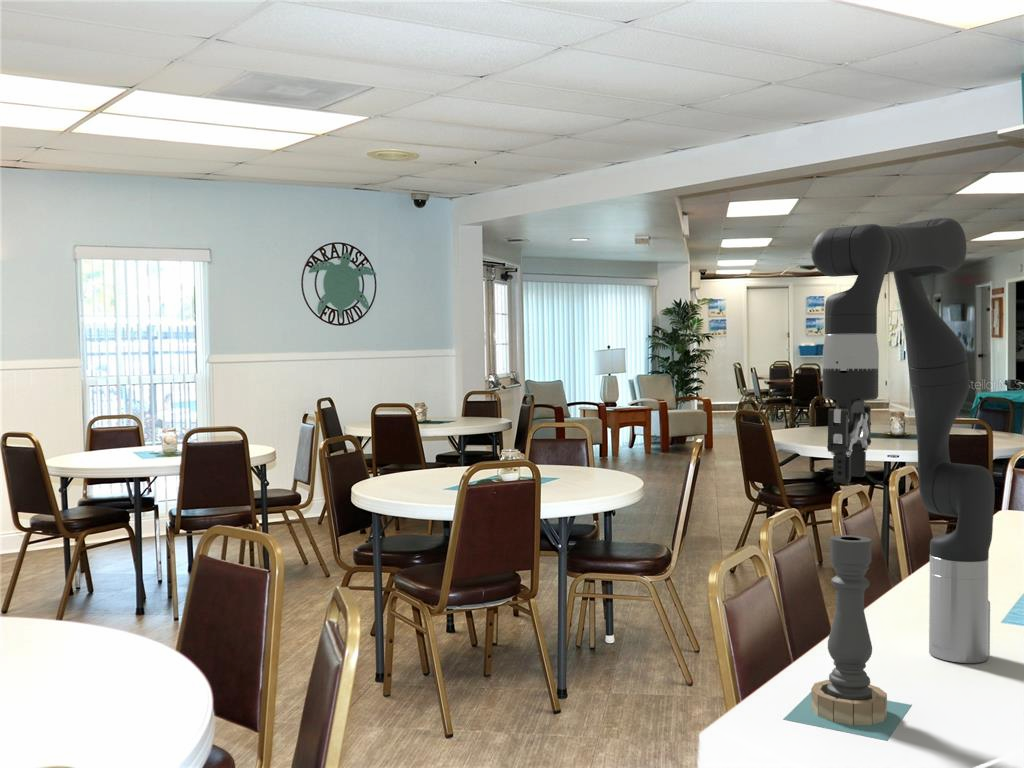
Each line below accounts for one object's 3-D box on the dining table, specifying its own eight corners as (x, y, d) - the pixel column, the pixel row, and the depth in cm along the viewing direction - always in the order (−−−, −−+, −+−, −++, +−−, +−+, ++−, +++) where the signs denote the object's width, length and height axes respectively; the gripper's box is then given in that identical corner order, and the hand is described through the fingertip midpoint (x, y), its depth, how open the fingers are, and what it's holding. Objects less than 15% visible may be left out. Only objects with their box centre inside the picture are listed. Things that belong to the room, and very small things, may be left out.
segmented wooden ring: (842, 695, 145) (842, 675, 145) (900, 715, 137) (901, 694, 137) (797, 708, 140) (797, 687, 140) (855, 730, 132) (855, 708, 132)
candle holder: (843, 721, 135) (844, 543, 134) (818, 706, 141) (819, 535, 140) (881, 716, 137) (882, 541, 136) (854, 702, 143) (855, 533, 142)
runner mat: (815, 689, 149) (815, 687, 149) (911, 707, 141) (911, 704, 141) (783, 722, 136) (783, 719, 136) (887, 743, 128) (887, 740, 128)
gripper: (837, 366, 145) (836, 473, 146) (809, 366, 134) (808, 483, 134) (889, 366, 141) (888, 476, 142) (865, 366, 129) (864, 486, 130)
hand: (849, 479), depth 138 cm, fingers open, 8 cm apart
